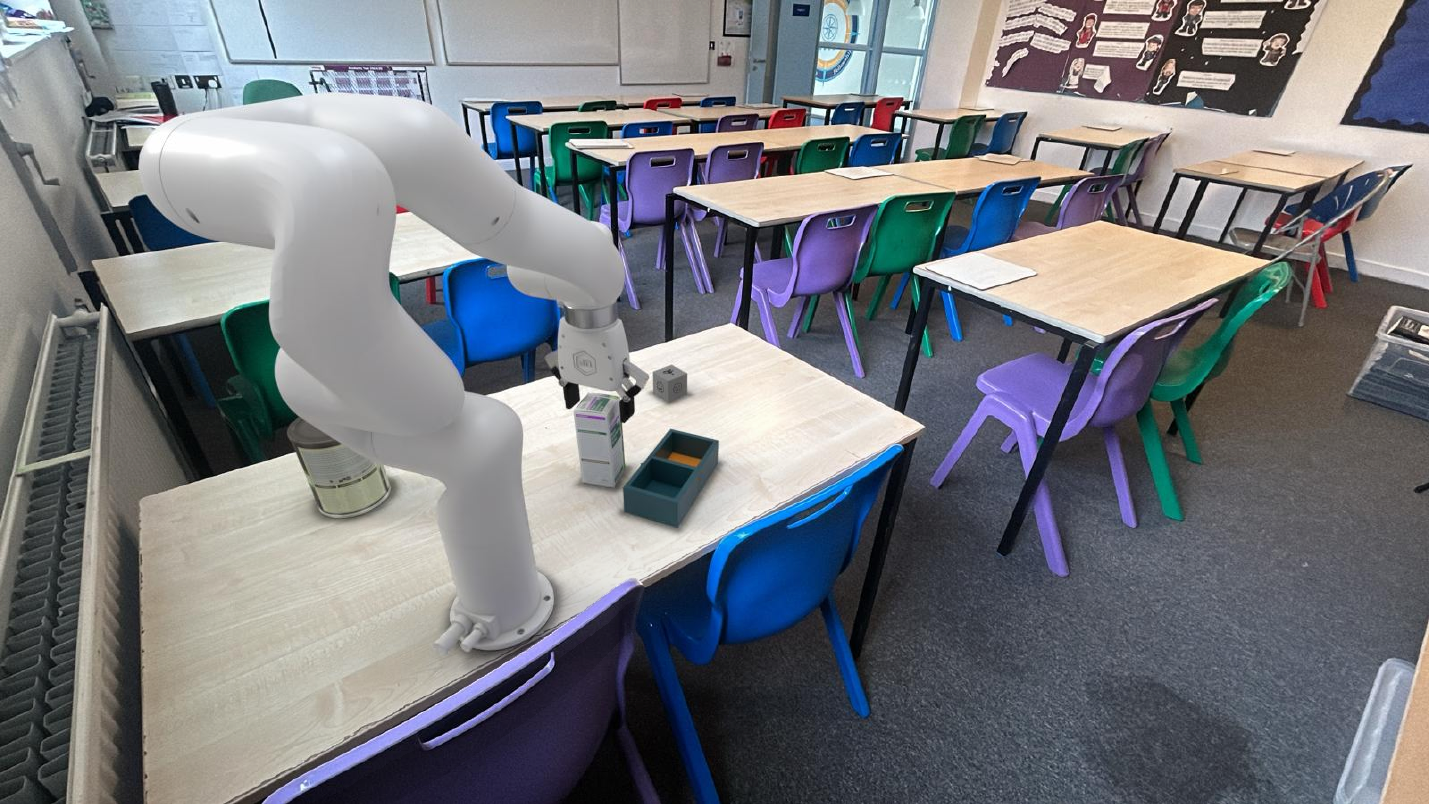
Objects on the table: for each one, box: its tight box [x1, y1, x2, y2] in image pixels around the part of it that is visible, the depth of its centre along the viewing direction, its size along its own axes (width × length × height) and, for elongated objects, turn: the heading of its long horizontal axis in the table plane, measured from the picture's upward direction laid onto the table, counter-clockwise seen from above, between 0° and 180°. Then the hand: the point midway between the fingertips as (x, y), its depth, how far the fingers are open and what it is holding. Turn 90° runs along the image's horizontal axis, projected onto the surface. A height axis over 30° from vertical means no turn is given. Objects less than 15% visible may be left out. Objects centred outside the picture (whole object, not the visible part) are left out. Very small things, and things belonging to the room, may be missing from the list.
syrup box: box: [573, 392, 626, 489], centre depth 98 cm, size 6×6×14 cm
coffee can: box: [286, 416, 392, 519], centre depth 92 cm, size 10×10×14 cm
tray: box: [622, 428, 720, 529], centre depth 99 cm, size 17×9×5 cm, turn 159°
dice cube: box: [652, 364, 688, 404], centre depth 124 cm, size 5×5×5 cm
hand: (599, 411), depth 96 cm, fingers open, 9 cm apart
